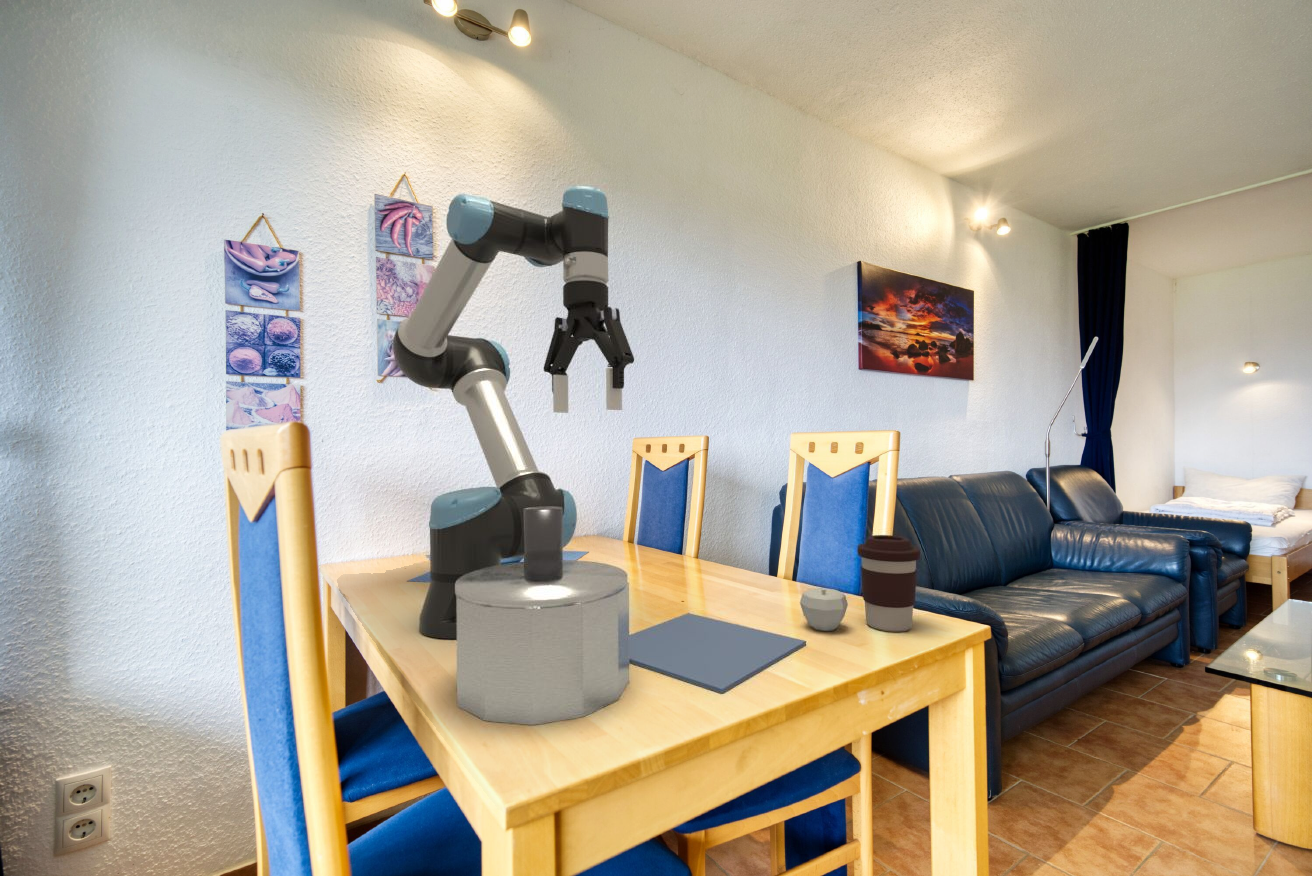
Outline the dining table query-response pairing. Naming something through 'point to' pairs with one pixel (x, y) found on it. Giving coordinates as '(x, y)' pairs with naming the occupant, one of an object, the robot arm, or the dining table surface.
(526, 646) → the cake dome
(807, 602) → the grey faceted round piece
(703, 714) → the dining table surface
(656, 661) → the mat
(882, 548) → the coffee cup
